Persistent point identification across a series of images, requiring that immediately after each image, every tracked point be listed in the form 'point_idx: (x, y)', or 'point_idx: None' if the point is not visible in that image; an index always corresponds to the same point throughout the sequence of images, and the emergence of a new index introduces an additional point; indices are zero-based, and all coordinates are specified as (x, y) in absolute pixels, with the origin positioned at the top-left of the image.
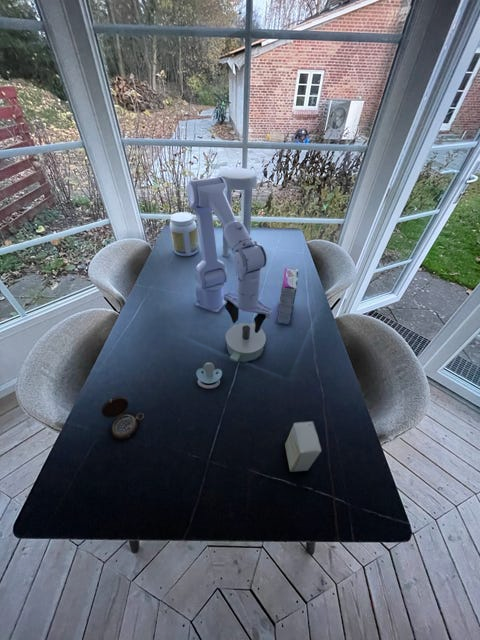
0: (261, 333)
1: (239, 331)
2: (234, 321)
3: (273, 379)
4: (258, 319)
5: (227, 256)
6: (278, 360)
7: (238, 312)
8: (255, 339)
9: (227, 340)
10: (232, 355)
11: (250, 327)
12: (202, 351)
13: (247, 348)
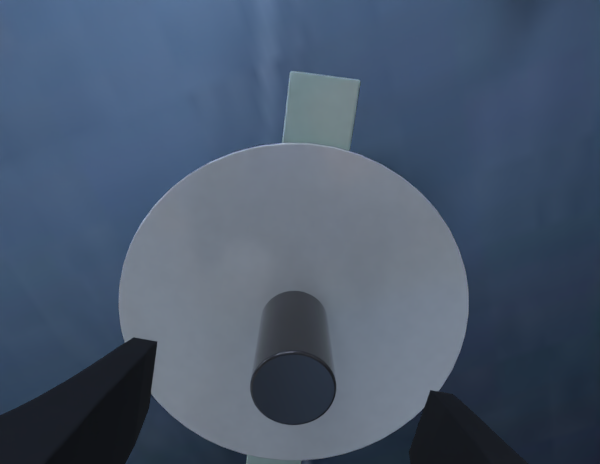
0: (417, 235)
1: (218, 279)
2: (136, 436)
3: (515, 425)
4: None
5: None
6: (533, 298)
7: (112, 391)
8: (380, 317)
9: (167, 398)
10: (254, 458)
11: (297, 197)
12: (52, 385)
13: (343, 417)
